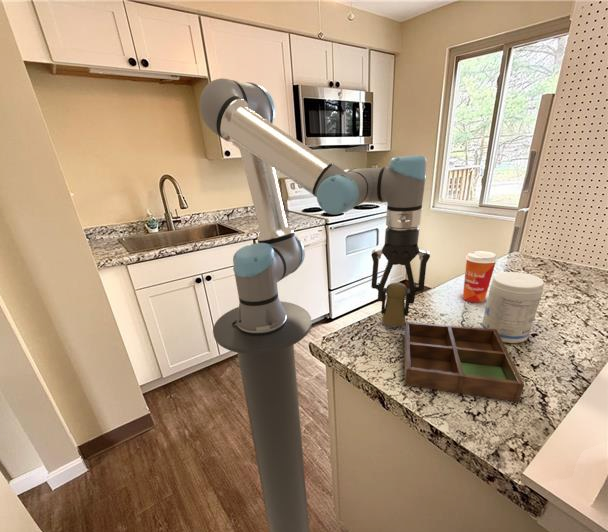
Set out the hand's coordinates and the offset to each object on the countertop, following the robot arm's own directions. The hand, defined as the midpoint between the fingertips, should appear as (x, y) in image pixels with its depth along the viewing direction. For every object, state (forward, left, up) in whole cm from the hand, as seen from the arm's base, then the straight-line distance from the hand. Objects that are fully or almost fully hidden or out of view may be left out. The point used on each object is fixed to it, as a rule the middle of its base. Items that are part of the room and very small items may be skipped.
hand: (394, 312), depth 84 cm
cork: (0, 0, -3) cm, 3 cm away
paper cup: (+22, +20, -4) cm, 30 cm away
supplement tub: (+25, 0, -4) cm, 26 cm away
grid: (+12, -15, -4) cm, 20 cm away
